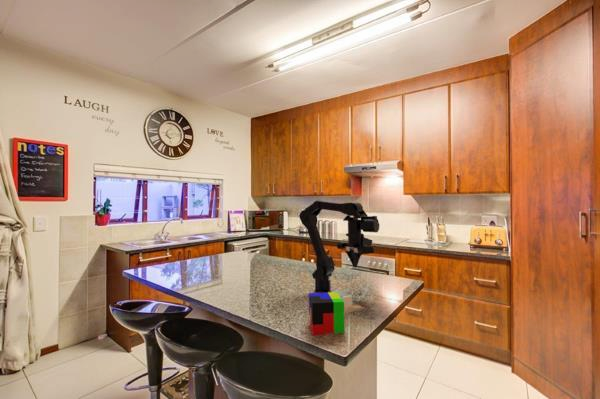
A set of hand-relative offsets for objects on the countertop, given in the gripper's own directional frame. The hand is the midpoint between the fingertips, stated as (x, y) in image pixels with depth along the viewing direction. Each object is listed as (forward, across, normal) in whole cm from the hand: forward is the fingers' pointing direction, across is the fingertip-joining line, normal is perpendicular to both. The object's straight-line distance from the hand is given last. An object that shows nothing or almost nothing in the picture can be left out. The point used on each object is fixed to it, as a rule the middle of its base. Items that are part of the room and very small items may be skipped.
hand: (355, 267), depth 124 cm
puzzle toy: (+13, -19, +28) cm, 36 cm away
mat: (+13, -6, +11) cm, 18 cm away
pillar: (+11, -8, +11) cm, 17 cm away
